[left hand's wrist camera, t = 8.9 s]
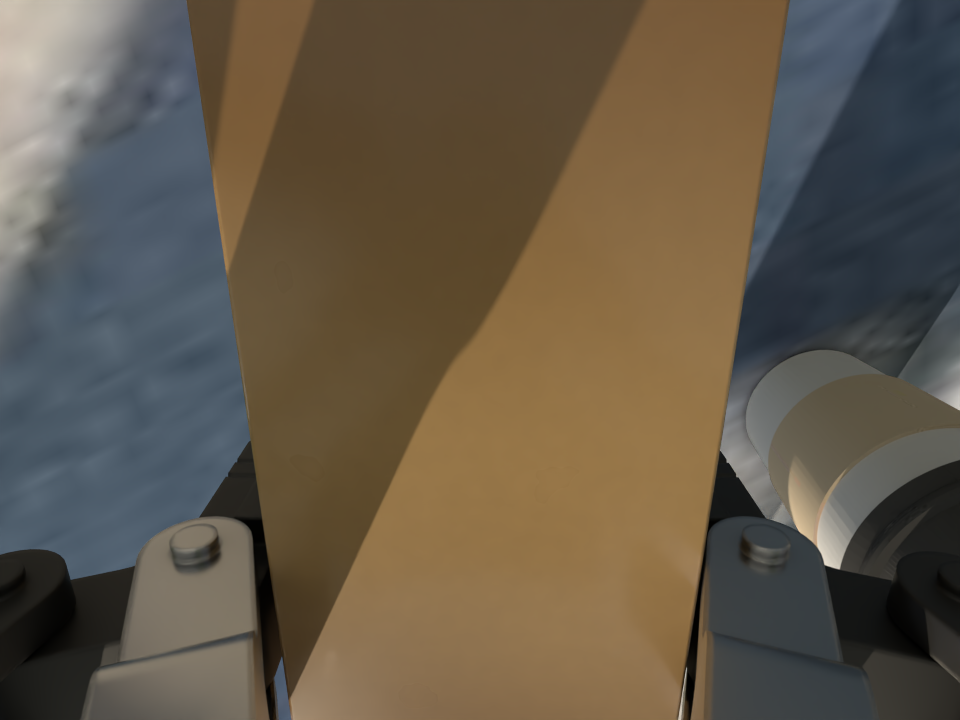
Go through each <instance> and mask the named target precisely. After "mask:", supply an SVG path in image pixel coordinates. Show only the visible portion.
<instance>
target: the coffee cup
mask: <svg viewBox="0 0 960 720" xmlns="http://www.w3.org/2000/svg"><path fill="white" fill-rule="evenodd" d="M745 421H746V430H747V433H748V436H749V439H750V441H751V442H752V444H753V446H754V448H755V449H756V451H757V453H758V455H759V456H760V458H761V460H762V461H763V463H764V465H765V467H766V468H767V470H768V472H769V475H770V479H771V481H772V484H773V486H774V488H775V490H776V491H777V493H778V495H779V497H780V498H781V500H782V502H783V504H784V505H785V507H786V509H787V511H788V512H789V514H790V516H791V518H792V519H793V521H794V523H795V525H796V526H797V528H798V530H799V532H800V533H801V534H803V535H804V536H806V537H807V538H808V539H810V540H811V541H812V542H813V543H814V544H815V545H816V547H817V548H818V549H819V551H820V552H821V554H822V557H823V560H824V565H826V566H829V567H832V568H836V569H840V570H844V571H848V572H853V573H858V574H863V575H868V576H873V577H878V578H882V579H887V580H893V576H894V573H895V570H896V566H897V564H898V561H899V560H900V559H901V558H902V557H904V556H906V555H907V554H911V553H914V552H921V551H935V552H944V553H949V554H954V555H958V556H960V411H959V410H957V409H956V408H954V407H952V406H950V405H948V404H946V403H945V402H943V401H941V400H939V399H937V398H935V397H933V396H932V395H930V394H928V393H926V392H924V391H922V390H921V389H919V388H917V387H915V386H913V385H911V384H910V383H908V382H906V381H904V380H901V379H899V378H896V377H892V376H888V375H886V374H884V373H882V372H880V371H879V370H877V369H875V368H873V367H871V366H870V365H868V364H866V363H864V362H862V361H861V360H859V359H857V358H855V357H853V356H851V355H849V354H846V353H843V352H840V351H834V350H815V351H809V352H805V353H801V354H798V355H796V356H793V357H791V358H789V359H787V360H785V361H783V362H782V363H780V364H779V365H777V366H776V367H774V368H773V369H772V370H771V371H770V372H768V373H767V374H766V375H765V376H764V377H763V379H762V380H761V381H760V382H759V383H758V385H757V386H756V388H755V389H754V391H753V393H752V395H751V397H750V399H749V402H748V405H747V410H746V420H745Z"/></svg>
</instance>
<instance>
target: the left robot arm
mask: <svg viewBox="0 0 960 720" xmlns="http://www.w3.org/2000/svg"><path fill="white" fill-rule="evenodd" d="M281 657H282V651H281V644H280V637H279V631H278V624H277V617H276V610H275V603H274V596H273V589H272V583H271V576H270V569H269V562H268V555H267V548H266V541H265V535H264V528H263V521H262V514H261V507H260V500H259V494H258V487H257V480H256V473H255V466H254V459H253V452H252V446H251V441H249V442H248V444H247V445H246V447H245V448H244V450H243V451H242V453H241V455H240V456H239V458H238V462H235V464H234V465H233V467H232V468H231V470H230V471H229V473H228V477H225V479H224V480H223V482H222V483H221V485H220V486H219V488H218V490H217V491H216V493H215V494H214V496H213V497H212V499H211V500H210V502H209V503H208V505H207V506H206V508H205V509H204V511H203V512H202V514H201V515H200V517H199V518H196V519H191V520H188V521H184V522H181V523H178V524H176V525H174V526H171V527H169V528H167V529H165V530H163V531H162V532H160V533H159V534H157V535H156V536H154V537H153V538H152V539H150V540H149V541H148V542H147V543H146V544H145V545H144V546H143V548H142V549H141V551H140V552H139V554H138V557H137V560H136V565H135V566H133V567H130V568H125V569H121V570H117V571H112V572H107V573H102V574H97V575H93V576H88V577H83V578H78V579H73V580H70V576H69V573H68V569H67V566H66V563H65V560H64V559H63V558H62V557H61V556H60V555H59V554H57V553H55V552H52V551H48V550H40V549H29V550H20V551H14V552H9V553H5V554H2V555H0V720H279V717H278V705H277V692H276V686H275V680H274V676H275V674H276V671H277V668H278V665H279V663H280V660H281ZM686 667H687V673H686V679H685V686H684V692H683V704H682V717H681V720H960V556H958V555H954V554H949V553H944V552H935V551H921V552H914V553H911V554H907V555H906V556H904V557H902V558H901V559H900V560H899V561H898V564H897V566H896V570H895V573H894V576H893V580H887V579H882V578H878V577H873V576H868V575H863V574H858V573H853V572H848V571H844V570H840V569H836V568H832V567H829V566H826V565H824V560H823V557H822V554H821V552H820V551H819V549H818V548H817V547H816V545H815V544H814V543H813V542H812V541H811V540H810V539H808V538H807V537H806V536H804V535H803V534H801V533H800V532H798V531H797V530H795V529H793V528H791V527H789V526H786V525H784V524H782V523H779V522H776V521H772V520H769V519H766V518H765V517H764V515H763V514H762V512H761V511H760V509H759V508H758V506H757V505H756V503H755V502H754V500H753V499H752V497H751V496H750V494H749V493H748V491H747V490H746V488H745V487H744V485H743V484H742V482H741V481H740V479H739V478H736V473H735V472H734V470H733V469H732V467H731V466H730V464H729V463H727V462H726V458H725V457H724V455H723V454H722V452H721V451H720V453H719V459H718V465H717V472H716V478H715V485H714V491H713V498H712V504H711V511H710V517H709V523H708V530H707V536H706V543H705V549H704V556H703V562H702V568H701V575H700V581H699V588H698V594H697V601H696V607H695V613H694V620H693V626H692V633H691V639H690V646H689V652H688V659H687V665H686Z"/></svg>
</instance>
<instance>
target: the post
mask: <svg viewBox="0 0 960 720" xmlns="http://www.w3.org/2000/svg"><path fill="white" fill-rule="evenodd" d="M789 2H790V0H187V7H188V14H189V21H190V27H191V34H192V41H193V48H194V55H195V62H196V69H197V75H198V82H199V89H200V96H201V103H202V110H203V117H204V123H205V130H206V137H207V144H208V151H209V158H210V165H211V171H212V178H213V185H214V192H215V199H216V206H217V213H218V219H219V226H220V233H221V240H222V247H223V254H224V260H225V267H226V274H227V281H228V288H229V295H230V302H231V308H232V315H233V322H234V329H235V336H236V343H237V350H238V356H239V363H240V370H241V377H242V384H243V391H244V398H245V404H246V411H247V418H248V425H249V432H250V439H251V446H252V452H253V459H254V466H255V473H256V480H257V487H258V494H259V500H260V507H261V514H262V521H263V528H264V535H265V541H266V548H267V555H268V562H269V569H270V576H271V583H272V589H273V596H274V603H275V610H276V617H277V624H278V631H279V637H280V644H281V651H282V658H283V665H284V672H285V679H286V685H287V692H288V699H289V706H290V713H291V720H678V716H679V710H680V704H681V697H682V691H683V684H684V678H685V671H686V665H687V659H688V652H689V646H690V639H691V633H692V626H693V620H694V613H695V607H696V601H697V594H698V588H699V581H700V575H701V568H702V562H703V556H704V549H705V543H706V536H707V530H708V523H709V517H710V511H711V504H712V498H713V491H714V485H715V478H716V472H717V465H718V459H719V453H720V446H721V440H722V433H723V427H724V420H725V414H726V408H727V401H728V395H729V388H730V382H731V375H732V369H733V363H734V356H735V350H736V343H737V337H738V330H739V324H740V317H741V311H742V305H743V298H744V292H745V285H746V279H747V272H748V266H749V260H750V253H751V247H752V240H753V234H754V227H755V221H756V214H757V208H758V202H759V195H760V189H761V182H762V176H763V169H764V163H765V157H766V150H767V144H768V137H769V131H770V124H771V118H772V112H773V105H774V99H775V92H776V86H777V79H778V73H779V66H780V60H781V54H782V47H783V41H784V34H785V28H786V21H787V15H788V9H789Z"/></svg>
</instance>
